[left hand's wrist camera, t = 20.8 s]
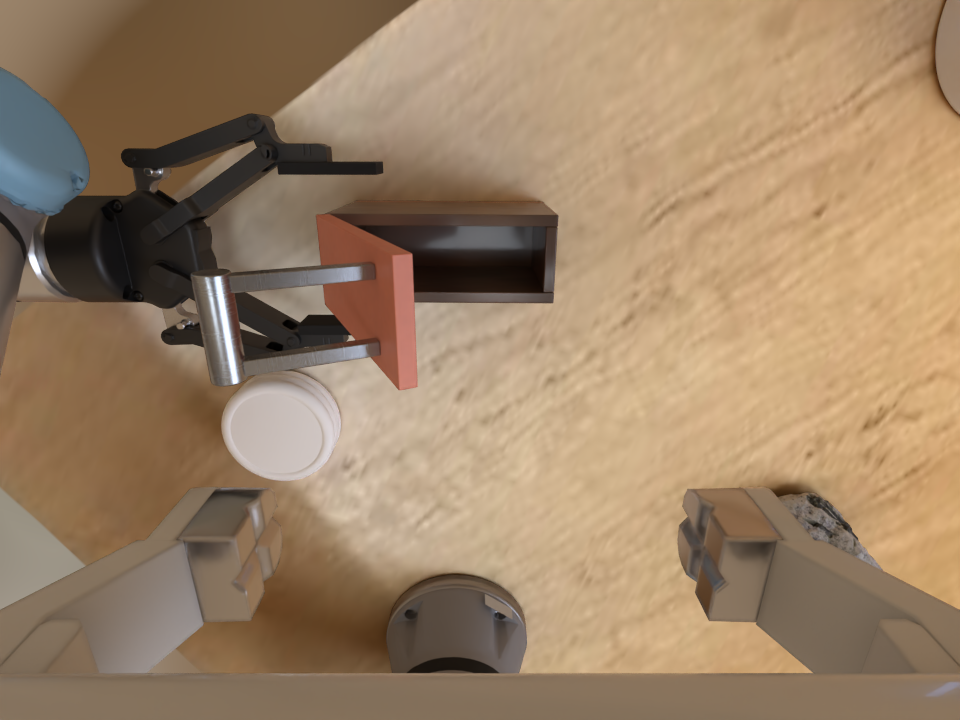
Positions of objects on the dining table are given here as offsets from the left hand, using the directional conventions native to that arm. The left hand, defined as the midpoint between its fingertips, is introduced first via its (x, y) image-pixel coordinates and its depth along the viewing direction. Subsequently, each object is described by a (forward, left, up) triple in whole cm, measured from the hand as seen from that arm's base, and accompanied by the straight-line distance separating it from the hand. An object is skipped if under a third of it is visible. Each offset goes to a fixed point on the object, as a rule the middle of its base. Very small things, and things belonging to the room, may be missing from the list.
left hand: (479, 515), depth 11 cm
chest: (+2, -2, -36) cm, 37 cm away
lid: (+4, -5, -20) cm, 21 cm away
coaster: (+24, -3, -36) cm, 44 cm away
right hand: (+4, -5, -30) cm, 31 cm away
